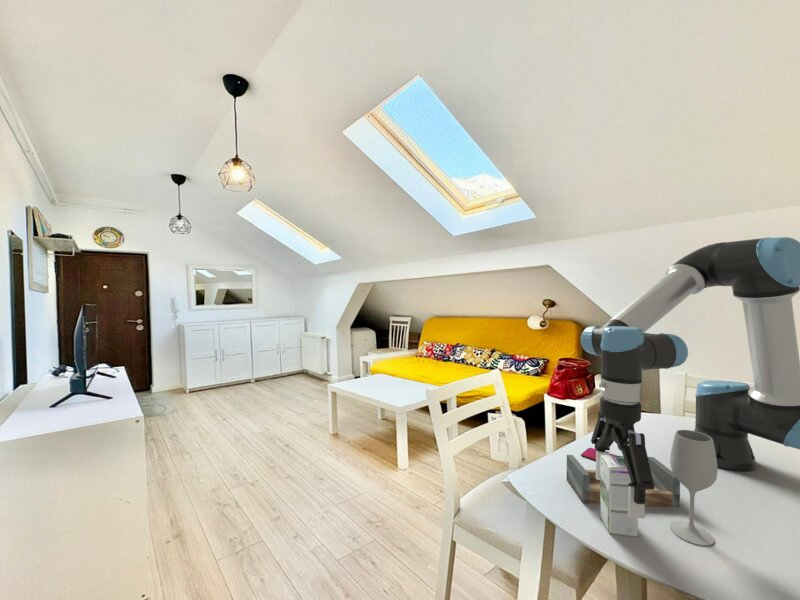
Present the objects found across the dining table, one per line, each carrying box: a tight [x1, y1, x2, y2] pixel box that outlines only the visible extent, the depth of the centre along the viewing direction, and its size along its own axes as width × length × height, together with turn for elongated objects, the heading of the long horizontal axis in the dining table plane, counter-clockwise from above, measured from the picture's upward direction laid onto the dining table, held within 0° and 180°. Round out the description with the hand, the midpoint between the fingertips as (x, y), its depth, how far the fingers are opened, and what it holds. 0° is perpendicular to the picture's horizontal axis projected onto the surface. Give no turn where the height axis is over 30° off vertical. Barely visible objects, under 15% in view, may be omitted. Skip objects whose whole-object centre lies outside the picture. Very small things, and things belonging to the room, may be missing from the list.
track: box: [566, 454, 681, 508], centre depth 90 cm, size 22×10×7 cm, turn 86°
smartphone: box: [580, 447, 615, 462], centre depth 106 cm, size 8×1×15 cm
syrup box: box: [599, 454, 639, 537], centre depth 77 cm, size 6×6×14 cm
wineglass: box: [669, 429, 719, 547], centre depth 74 cm, size 8×8×21 cm
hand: (617, 496), depth 77 cm, fingers open, 13 cm apart
